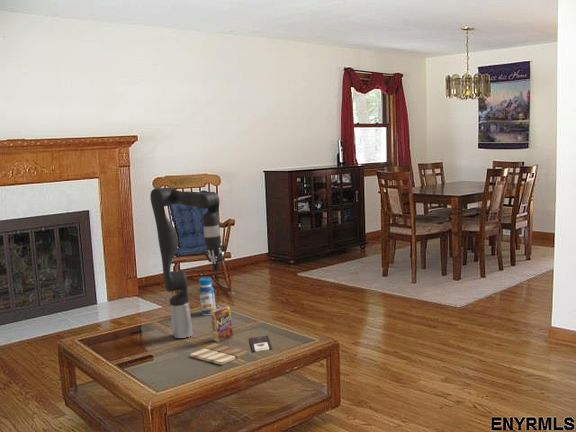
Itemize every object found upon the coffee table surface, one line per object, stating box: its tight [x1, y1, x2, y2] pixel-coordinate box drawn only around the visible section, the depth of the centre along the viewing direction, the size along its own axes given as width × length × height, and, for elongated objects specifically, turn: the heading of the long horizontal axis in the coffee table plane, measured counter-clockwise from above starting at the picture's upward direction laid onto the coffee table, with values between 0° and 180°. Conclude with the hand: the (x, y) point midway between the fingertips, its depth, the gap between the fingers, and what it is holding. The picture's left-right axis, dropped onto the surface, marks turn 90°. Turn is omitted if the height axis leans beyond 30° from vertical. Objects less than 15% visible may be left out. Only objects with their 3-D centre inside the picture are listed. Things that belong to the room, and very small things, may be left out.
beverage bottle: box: [198, 277, 217, 316], centre depth 330 cm, size 8×8×20 cm
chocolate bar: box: [249, 335, 273, 353], centre depth 275 cm, size 9×1×18 cm
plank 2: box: [205, 352, 236, 366], centre depth 260 cm, size 10×8×1 cm
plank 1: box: [190, 347, 218, 361], centre depth 267 cm, size 10×8×1 cm
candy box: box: [210, 305, 234, 343], centre depth 286 cm, size 9×4×15 cm, turn 123°
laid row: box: [204, 342, 248, 360], centre depth 269 cm, size 22×6×1 cm, turn 49°
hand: (216, 271), depth 277 cm, fingers closed
